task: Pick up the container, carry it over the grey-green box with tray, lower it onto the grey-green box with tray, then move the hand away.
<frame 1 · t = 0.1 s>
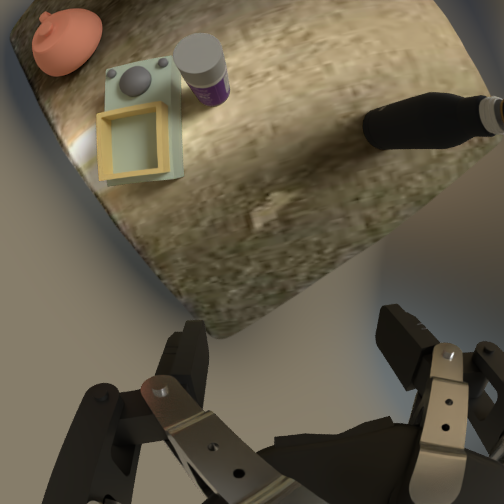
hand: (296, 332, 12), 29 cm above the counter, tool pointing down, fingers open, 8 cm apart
grey-green box with tray: (150, 124, 35), on the counter
container: (213, 91, 34), on the counter
wine bottle: (380, 129, 36), on the counter
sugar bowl: (75, 44, 29), on the counter
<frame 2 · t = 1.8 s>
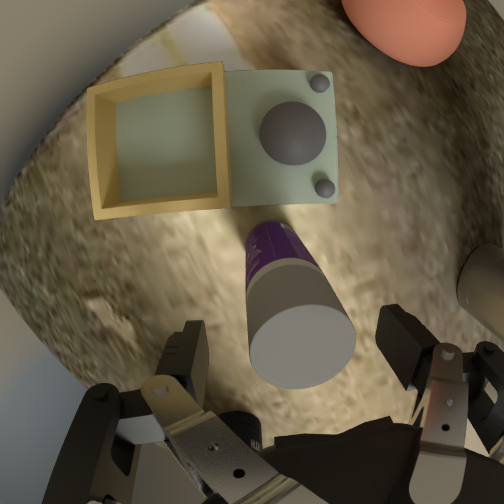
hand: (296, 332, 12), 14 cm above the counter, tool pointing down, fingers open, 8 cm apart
grey-green box with tray: (219, 144, 22), on the counter
container: (272, 245, 25), on the counter
wine bottle: (236, 424, 33), on the counter
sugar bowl: (394, 20, 18), on the counter
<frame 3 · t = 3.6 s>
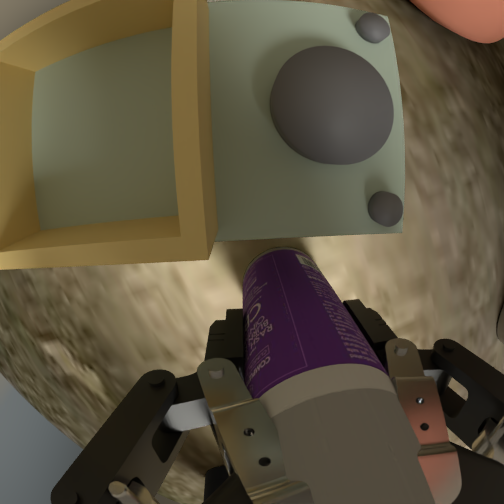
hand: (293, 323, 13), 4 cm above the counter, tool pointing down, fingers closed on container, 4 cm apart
grey-green box with tray: (202, 131, 14), on the counter
container: (281, 282, 17), on the counter, touching gripper
wine bottle: (233, 475, 24), on the counter
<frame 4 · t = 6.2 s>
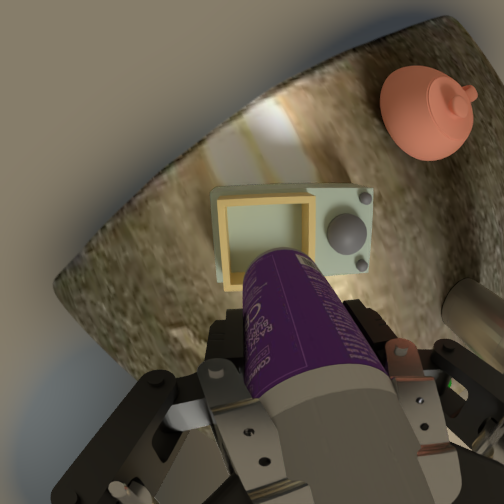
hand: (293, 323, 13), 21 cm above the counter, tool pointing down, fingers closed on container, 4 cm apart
grey-green box with tray: (287, 222, 33), on the counter
container: (281, 282, 17), point 17 cm above the counter, touching gripper
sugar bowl: (415, 112, 29), on the counter
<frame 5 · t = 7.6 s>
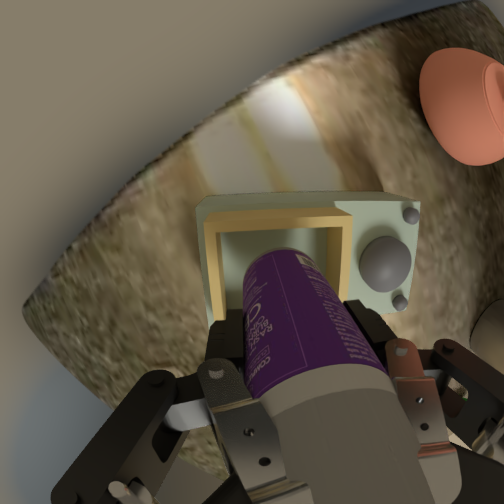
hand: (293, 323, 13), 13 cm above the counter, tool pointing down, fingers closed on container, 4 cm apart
grey-green box with tray: (301, 242, 25), on the counter
container: (281, 282, 17), point 8 cm above the counter, touching gripper
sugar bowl: (454, 105, 21), on the counter
when the fingers open (11 cm above the counter, at t = 8.8 s): container stays where it is, resting on grey-green box with tray.
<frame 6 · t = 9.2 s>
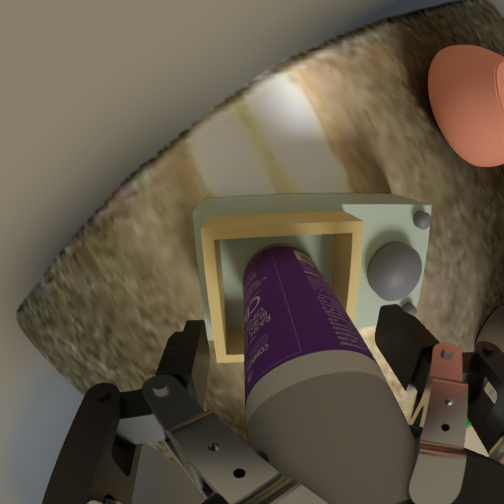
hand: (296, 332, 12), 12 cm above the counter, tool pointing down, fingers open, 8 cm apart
grey-green box with tray: (305, 247, 24), on the counter
container: (279, 277, 18), point 6 cm above the counter, touching grey-green box with tray
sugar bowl: (462, 104, 20), on the counter
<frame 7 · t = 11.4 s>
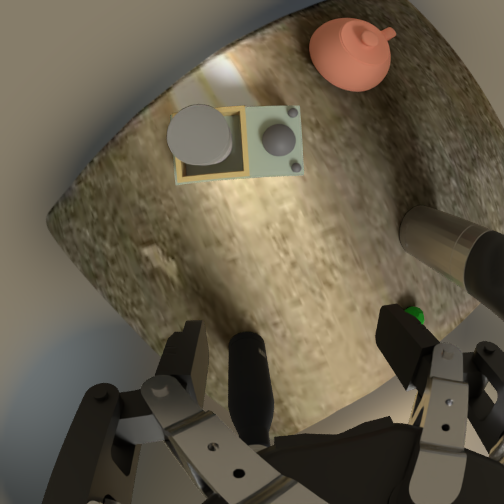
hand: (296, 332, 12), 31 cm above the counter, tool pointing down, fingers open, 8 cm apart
grey-green box with tray: (236, 145, 38), on the counter
container: (213, 145, 33), point 6 cm above the counter, touching grey-green box with tray
wine bottle: (246, 345, 49), on the counter
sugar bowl: (346, 58, 35), on the counter
polyhedron: (406, 313, 49), on the counter
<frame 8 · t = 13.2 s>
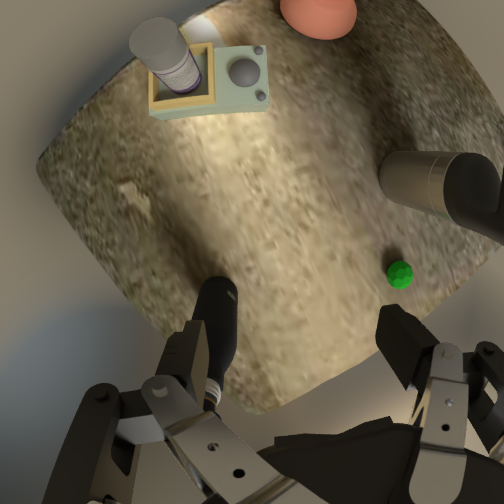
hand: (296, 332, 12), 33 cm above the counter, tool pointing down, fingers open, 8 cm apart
grey-green box with tray: (211, 87, 37), on the counter
container: (185, 79, 32), point 6 cm above the counter, touching grey-green box with tray
wine bottle: (218, 293, 48), on the counter
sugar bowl: (318, 15, 33), on the counter
polyhedron: (393, 269, 48), on the counter
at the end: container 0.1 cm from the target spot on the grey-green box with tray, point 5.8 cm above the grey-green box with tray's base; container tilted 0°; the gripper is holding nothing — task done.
